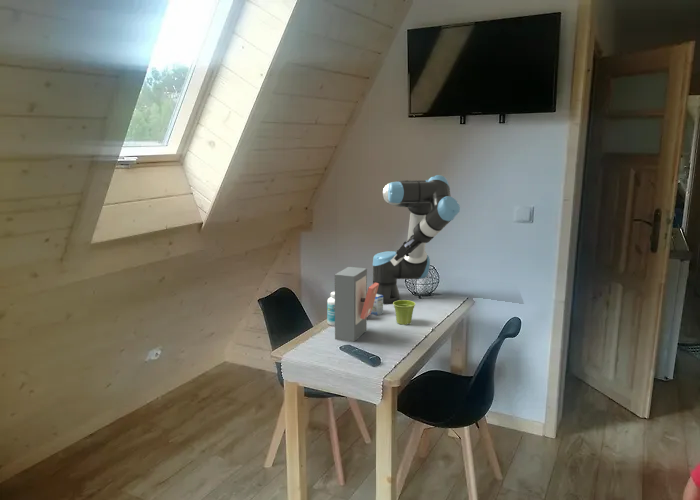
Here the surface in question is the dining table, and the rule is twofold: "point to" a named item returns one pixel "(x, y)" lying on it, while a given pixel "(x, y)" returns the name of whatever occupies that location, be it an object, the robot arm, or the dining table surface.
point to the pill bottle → (331, 309)
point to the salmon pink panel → (369, 300)
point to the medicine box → (378, 305)
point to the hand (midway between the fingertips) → (393, 262)
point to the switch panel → (350, 303)
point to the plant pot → (404, 311)
